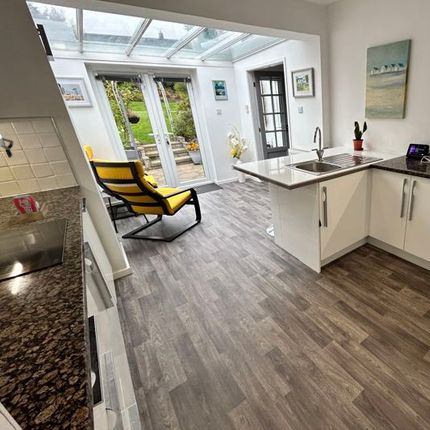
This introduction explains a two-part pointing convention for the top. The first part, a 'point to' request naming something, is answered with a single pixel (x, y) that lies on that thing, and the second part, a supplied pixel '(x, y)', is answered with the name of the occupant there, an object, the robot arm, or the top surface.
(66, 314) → the top surface
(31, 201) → the soda can
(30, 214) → the rack
